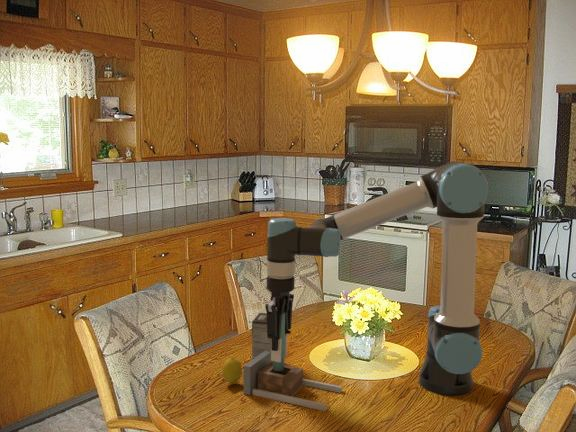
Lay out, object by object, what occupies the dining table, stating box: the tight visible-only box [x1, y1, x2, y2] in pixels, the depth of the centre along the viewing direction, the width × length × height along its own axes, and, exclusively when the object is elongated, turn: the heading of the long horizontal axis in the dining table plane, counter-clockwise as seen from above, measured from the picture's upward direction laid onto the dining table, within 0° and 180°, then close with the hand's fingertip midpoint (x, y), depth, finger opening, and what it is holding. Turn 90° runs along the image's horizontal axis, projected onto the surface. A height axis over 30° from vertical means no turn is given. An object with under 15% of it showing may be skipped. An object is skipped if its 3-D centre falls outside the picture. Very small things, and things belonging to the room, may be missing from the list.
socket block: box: [258, 362, 304, 397], centre depth 169 cm, size 10×8×6 cm
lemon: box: [221, 356, 243, 385], centre depth 174 cm, size 6×6×8 cm
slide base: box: [243, 349, 343, 412], centre depth 167 cm, size 25×15×9 cm, turn 65°
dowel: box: [273, 312, 285, 371], centre depth 167 cm, size 3×3×16 cm
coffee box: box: [251, 312, 271, 360], centre depth 185 cm, size 9×6×16 cm
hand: (278, 358), depth 168 cm, fingers closed on dowel, 3 cm apart
